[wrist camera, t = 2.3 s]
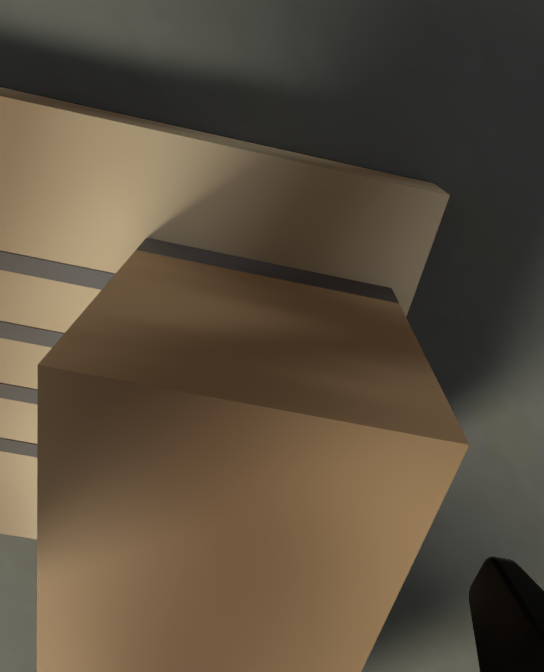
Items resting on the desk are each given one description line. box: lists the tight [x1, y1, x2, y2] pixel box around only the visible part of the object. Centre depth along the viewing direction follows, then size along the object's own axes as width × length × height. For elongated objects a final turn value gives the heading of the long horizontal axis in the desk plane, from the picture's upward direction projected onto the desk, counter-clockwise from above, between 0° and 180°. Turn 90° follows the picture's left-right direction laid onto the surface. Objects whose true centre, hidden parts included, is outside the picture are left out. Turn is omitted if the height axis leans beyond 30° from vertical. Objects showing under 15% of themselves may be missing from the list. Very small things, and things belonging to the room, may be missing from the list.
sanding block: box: [37, 238, 469, 672], centre depth 10 cm, size 5×7×5 cm
